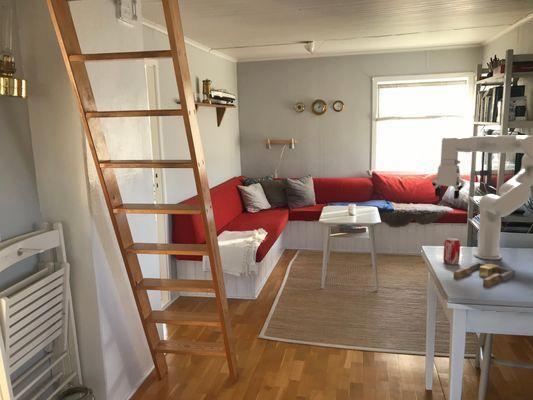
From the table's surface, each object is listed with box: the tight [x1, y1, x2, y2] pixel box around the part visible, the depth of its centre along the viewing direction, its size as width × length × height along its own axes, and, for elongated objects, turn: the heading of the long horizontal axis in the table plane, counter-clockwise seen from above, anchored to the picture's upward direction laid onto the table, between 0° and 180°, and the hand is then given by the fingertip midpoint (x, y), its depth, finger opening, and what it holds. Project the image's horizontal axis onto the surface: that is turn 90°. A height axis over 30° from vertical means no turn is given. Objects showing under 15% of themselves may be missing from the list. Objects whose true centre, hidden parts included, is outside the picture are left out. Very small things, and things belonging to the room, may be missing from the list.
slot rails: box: [453, 265, 501, 288], centre depth 189 cm, size 12×14×3 cm
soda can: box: [442, 237, 461, 266], centre depth 211 cm, size 7×7×12 cm
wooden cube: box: [486, 263, 500, 275], centre depth 196 cm, size 4×4×4 cm
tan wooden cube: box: [478, 265, 494, 278], centre depth 194 cm, size 4×4×4 cm
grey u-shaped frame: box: [464, 261, 516, 282], centre depth 196 cm, size 12×17×2 cm
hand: (446, 197), depth 218 cm, fingers open, 9 cm apart
